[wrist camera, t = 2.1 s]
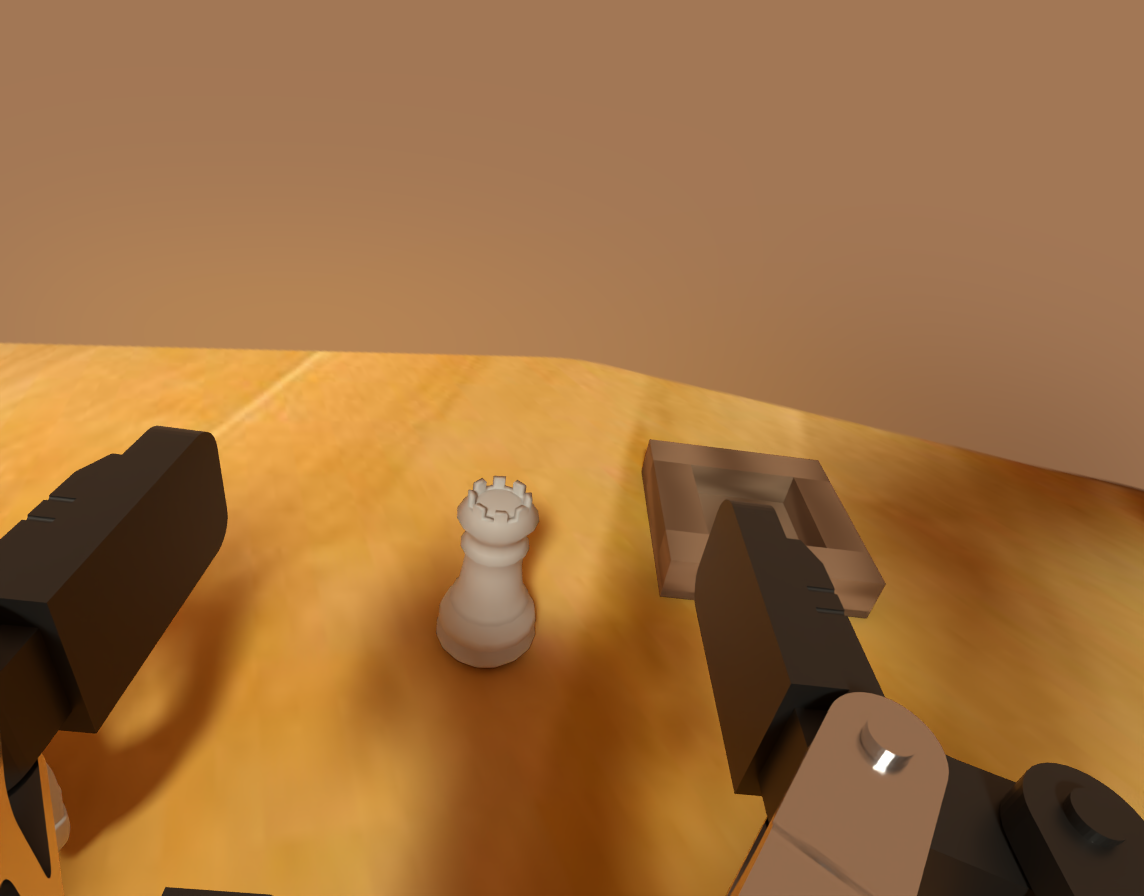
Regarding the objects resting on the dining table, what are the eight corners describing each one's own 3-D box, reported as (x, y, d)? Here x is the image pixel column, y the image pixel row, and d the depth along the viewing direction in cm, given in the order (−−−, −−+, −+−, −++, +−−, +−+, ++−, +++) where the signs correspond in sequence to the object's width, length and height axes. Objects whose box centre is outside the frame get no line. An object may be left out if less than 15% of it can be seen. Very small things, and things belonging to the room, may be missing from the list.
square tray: (805, 491, 44) (818, 460, 43) (866, 618, 35) (885, 583, 33) (641, 471, 43) (649, 439, 42) (659, 596, 34) (671, 560, 32)
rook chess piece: (423, 665, 28) (428, 521, 24) (448, 590, 32) (456, 454, 28) (526, 682, 28) (550, 541, 24) (539, 605, 32) (562, 472, 28)
